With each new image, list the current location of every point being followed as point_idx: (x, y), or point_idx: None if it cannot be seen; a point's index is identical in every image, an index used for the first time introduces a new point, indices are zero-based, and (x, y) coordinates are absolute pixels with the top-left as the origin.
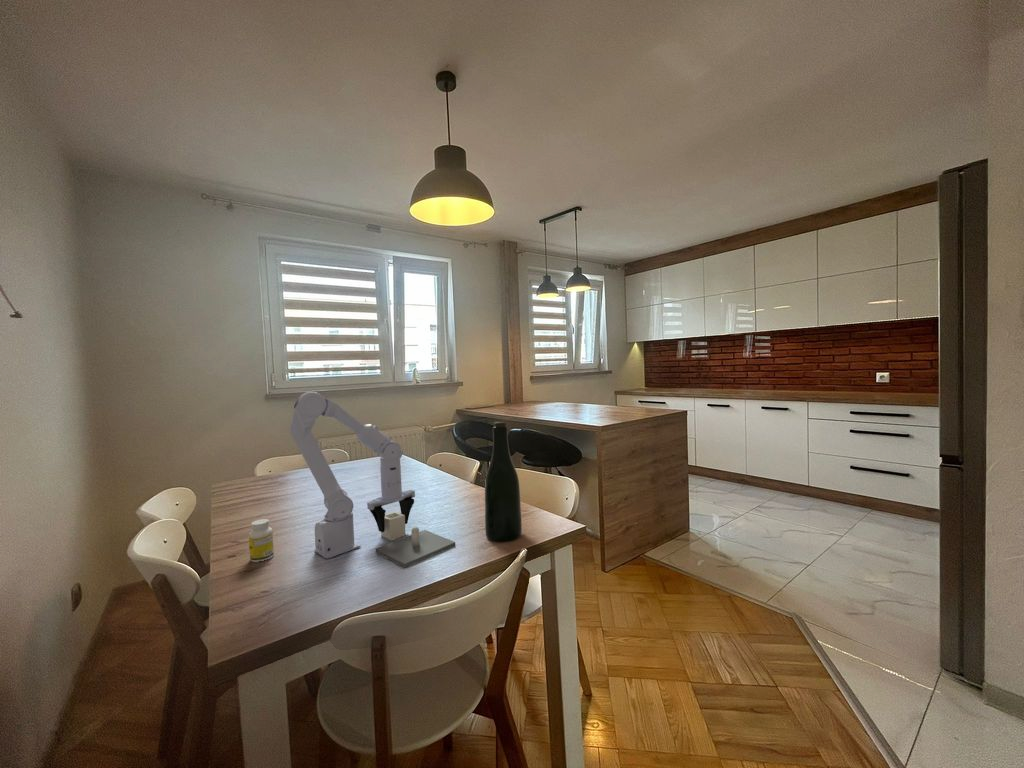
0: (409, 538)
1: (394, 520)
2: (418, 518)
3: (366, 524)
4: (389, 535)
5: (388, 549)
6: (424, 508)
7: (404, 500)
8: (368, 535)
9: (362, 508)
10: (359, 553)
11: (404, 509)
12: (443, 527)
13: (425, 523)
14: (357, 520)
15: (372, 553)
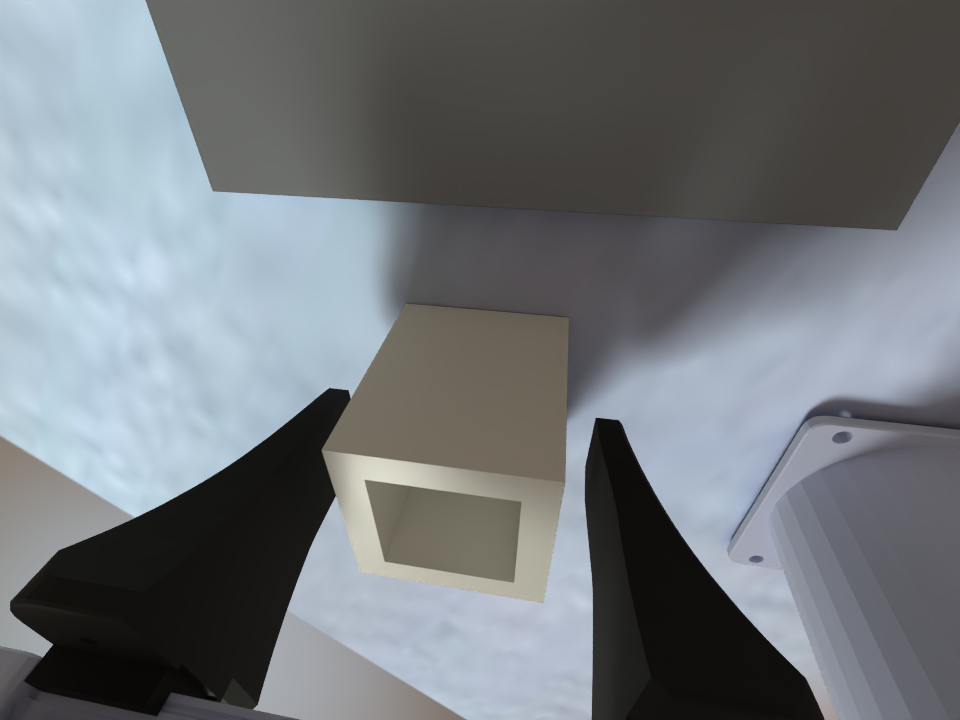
0: (459, 123)
1: (489, 448)
2: (204, 447)
3: None
4: (567, 355)
5: (887, 30)
6: (134, 511)
7: (184, 670)
8: None
9: (402, 676)
10: (948, 325)
11: (271, 533)
12: (27, 141)
13: (178, 352)
14: (493, 637)
15: (916, 213)
